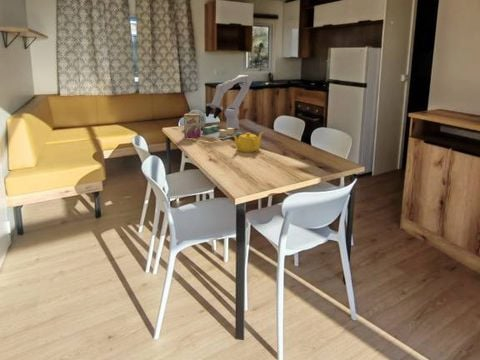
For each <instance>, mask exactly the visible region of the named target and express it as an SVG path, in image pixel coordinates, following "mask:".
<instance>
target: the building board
mask: <svg viewBox="0 0 480 360" xmlns="http://www.w3.org/2000/svg"><path fill="white" fill-rule="evenodd" d="M243 134H245V133H244V132H241V131H240V132H239V131H235V129H234V128H227V127H226V129H223V128H221V129H220V128H219V131H217V132H213V133H209V134H204V133H203V131H201V136H203V137H209V138H215V139H218V140H219V141H225V140H229V139H232V138H234V137H233V136H236V137H237V138H238V137H239V136H240V135H243Z"/></svg>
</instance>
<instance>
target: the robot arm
mask: <svg viewBox="0 0 480 360" xmlns="http://www.w3.org/2000/svg"><path fill="white" fill-rule="evenodd" d="M252 82H253V76H251V74H239V75H237V76H236V77H235V78H233V79H232V80H231V79H226V81H224V82H222V83H219V84H217V85H216V86H215V93H214V96H213V99H212V101H211V102H210V103H206V106H205V117H207V118H208V117H209V116H210V114H211V112H212V110H213V109H214V110H215V111H214V114H213V119H216V118H218V116H220V114H221V113H223V110H224V116H225V118H226V128H234V130H236V129H237V130H241V129H240V120H239V118H238V116H239V113H240V108H239V107H240V106H241V104H242V102H243V101H244V99H245V97H246V96H247V93H248V92H249V89H250V86H251V84H252ZM236 84H238V85H239V87H240V90H239V92H238V93H237V95H236V96H235V98H234V100H233V102H232V103H231V105H228V107H227V108H225V109H224V106H222V105H221V102H222V100H223V97H224V95H225V93H227V92H228V90H230V89H232V88H233V87H234V85H236Z"/></svg>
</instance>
